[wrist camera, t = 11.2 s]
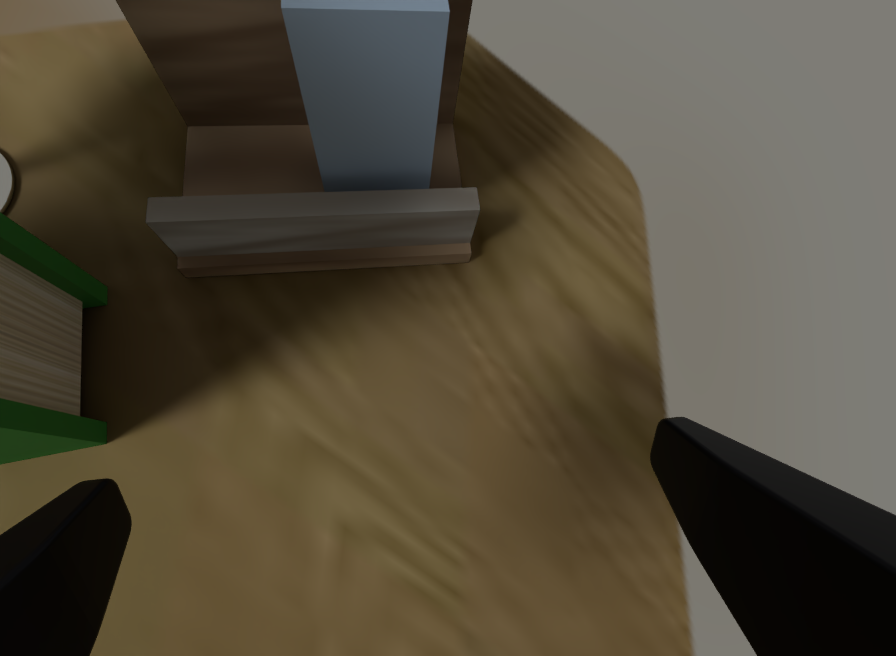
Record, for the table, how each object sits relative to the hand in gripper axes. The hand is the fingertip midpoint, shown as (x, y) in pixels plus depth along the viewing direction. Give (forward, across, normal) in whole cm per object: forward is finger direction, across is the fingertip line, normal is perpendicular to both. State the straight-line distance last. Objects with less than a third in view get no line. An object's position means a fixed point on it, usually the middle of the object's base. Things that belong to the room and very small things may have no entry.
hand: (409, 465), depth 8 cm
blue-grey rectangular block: (+20, 0, -2) cm, 20 cm away
